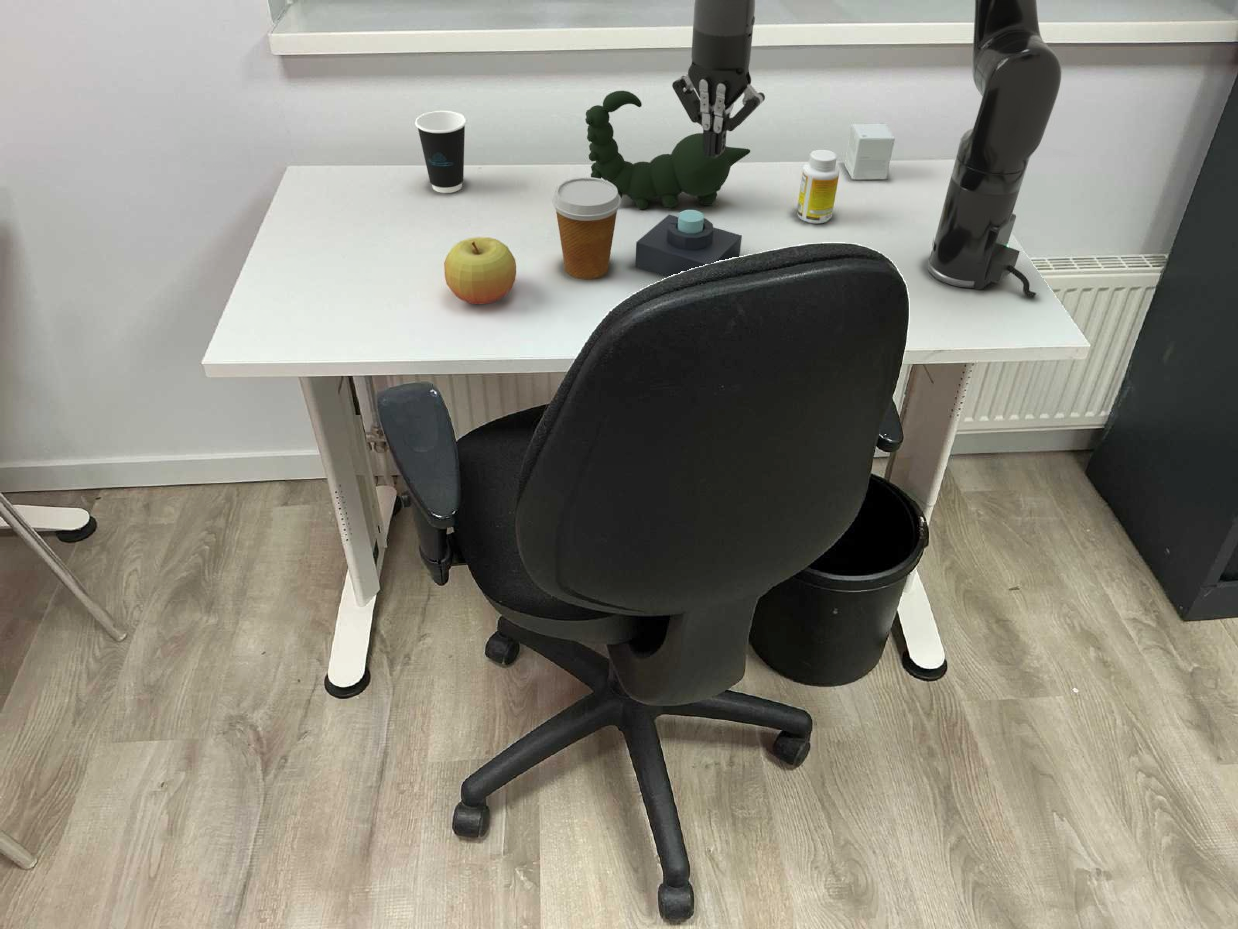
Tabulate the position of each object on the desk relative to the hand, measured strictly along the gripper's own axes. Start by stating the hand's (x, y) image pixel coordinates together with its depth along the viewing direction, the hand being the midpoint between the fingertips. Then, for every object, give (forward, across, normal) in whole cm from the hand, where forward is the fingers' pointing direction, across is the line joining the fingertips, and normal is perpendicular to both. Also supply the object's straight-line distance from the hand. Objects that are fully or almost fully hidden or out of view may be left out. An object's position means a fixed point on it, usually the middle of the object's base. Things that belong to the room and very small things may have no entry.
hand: (713, 155), depth 136 cm
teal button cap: (+10, -2, -3) cm, 11 cm away
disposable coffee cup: (+16, -14, -12) cm, 24 cm away
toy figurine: (+16, -14, +13) cm, 25 cm away
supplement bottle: (+16, +9, +21) cm, 28 cm away
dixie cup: (+16, -46, -2) cm, 49 cm away
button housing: (+16, -2, -3) cm, 16 cm away
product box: (+16, +10, +41) cm, 45 cm away
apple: (+16, -22, -25) cm, 37 cm away
